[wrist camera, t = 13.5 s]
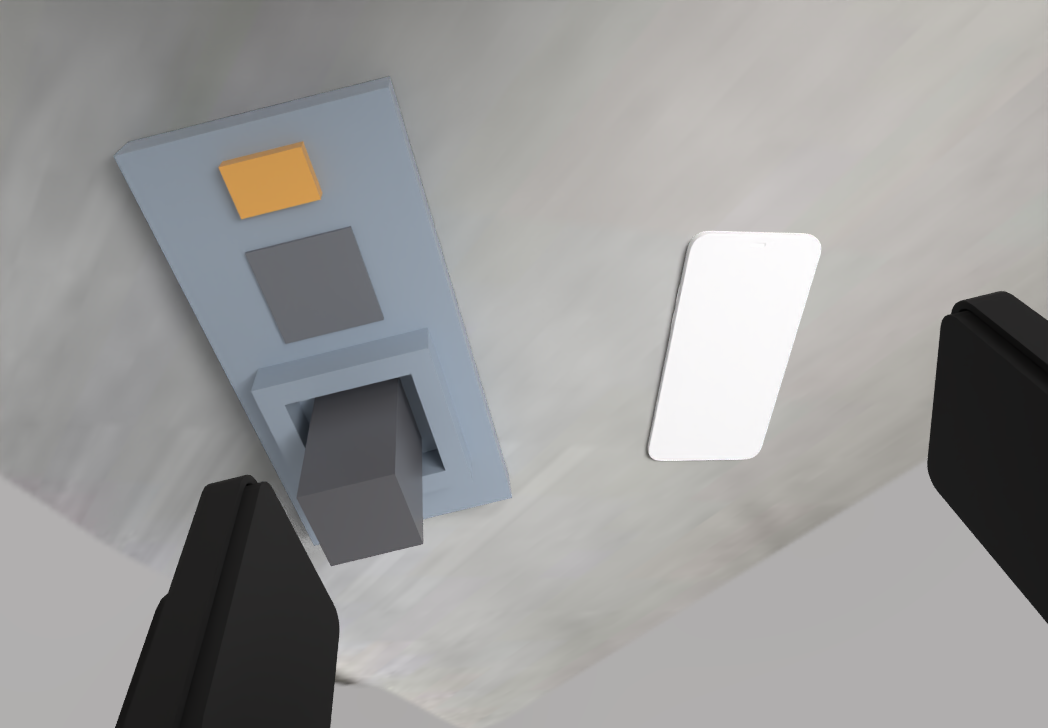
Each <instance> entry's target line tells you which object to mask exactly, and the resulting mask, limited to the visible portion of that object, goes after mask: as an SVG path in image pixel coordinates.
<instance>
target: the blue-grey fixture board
mask: <svg viewBox="0 0 1048 728" xmlns="http://www.w3.org/2000/svg"><path fill="white" fill-rule="evenodd" d="M114 158H115V160H116V162H117V164H118V166H119V168H120V170H121V172H122V174H123V176H124V178H125V180H126V182H127V183H128V185H129V187H130V189H131V191H132V193H133V195H134V197H135V199H136V201H137V203H138V205H139V207H140V209H141V211H142V213H143V214H144V216H145V218H146V220H147V222H148V224H149V226H150V228H151V230H152V232H153V234H154V236H155V238H156V240H157V242H158V244H159V245H160V247H161V249H162V251H163V253H164V255H165V257H166V259H167V261H168V263H169V265H170V267H171V269H172V271H173V273H174V275H175V276H176V278H177V280H178V282H179V284H180V286H181V288H182V290H183V292H184V294H185V296H186V298H187V300H188V302H189V304H190V306H191V307H192V309H193V311H194V313H195V315H196V317H197V319H198V321H199V323H200V325H201V327H202V329H203V331H204V333H205V335H206V337H207V339H208V340H209V342H210V344H211V346H212V348H213V350H214V352H215V354H216V356H217V358H218V360H219V362H220V364H221V366H222V368H223V370H224V371H225V373H226V375H227V377H228V379H229V381H230V383H231V385H232V387H233V389H234V391H235V393H236V395H237V397H238V399H239V401H240V402H241V404H242V406H243V408H244V410H245V412H246V414H247V416H248V418H249V420H250V422H251V424H252V426H253V428H254V430H255V432H256V433H257V435H258V437H259V439H260V441H261V443H262V445H263V447H264V449H265V451H266V453H267V455H268V457H269V459H270V461H271V463H272V465H273V466H274V468H275V470H276V472H277V474H278V476H279V478H280V480H281V482H282V484H283V486H284V488H285V490H286V492H287V494H288V496H289V497H290V499H291V501H292V503H293V505H294V507H295V509H296V511H297V513H298V515H299V517H300V519H301V521H302V523H303V525H304V527H305V528H306V530H307V532H308V534H309V536H310V538H311V540H312V542H313V544H314V546H315V545H319V544H320V543H319V542H318V540H317V538H316V536H315V534H314V532H313V530H312V528H311V526H310V524H309V522H308V520H307V518H306V516H305V514H304V512H303V510H302V508H301V506H300V504H299V502H298V500H297V498H296V497H297V491H298V486H299V481H300V475H301V470H302V464H303V459H304V454H305V448H306V443H307V438H308V432H309V427H310V421H311V416H312V411H313V405H314V400H315V397H320V396H324V395H328V394H332V393H336V392H340V391H344V390H348V389H352V388H356V387H360V386H364V385H368V384H373V383H377V382H381V381H385V380H389V379H393V378H397V377H400V380H401V382H402V385H403V388H404V391H405V393H406V396H407V399H408V401H409V404H410V407H411V410H412V412H413V415H414V418H415V421H416V423H417V426H418V429H419V432H420V434H421V437H422V491H423V519H426V518H430V517H434V516H439V515H443V514H447V513H451V512H455V511H459V510H463V509H468V508H472V507H476V506H480V505H484V504H488V503H492V502H496V501H501V500H505V499H509V498H512V494H511V487H510V481H509V475H508V472H507V468H506V465H505V461H504V458H503V455H502V451H501V448H500V445H499V441H498V438H497V435H496V431H495V428H494V424H493V421H492V418H491V414H490V411H489V408H488V404H487V401H486V398H485V394H484V391H483V387H482V384H481V381H480V377H479V374H478V371H477V367H476V364H475V361H474V357H473V354H472V351H471V347H470V344H469V340H468V337H467V334H466V330H465V327H464V324H463V320H462V317H461V314H460V310H459V307H458V303H457V300H456V297H455V293H454V290H453V287H452V283H451V280H450V277H449V273H448V270H447V266H446V263H445V260H444V256H443V253H442V250H441V246H440V243H439V240H438V236H437V233H436V230H435V226H434V223H433V219H432V216H431V213H430V209H429V206H428V203H427V199H426V196H425V193H424V189H423V186H422V182H421V179H420V176H419V172H418V169H417V166H416V162H415V159H414V156H413V152H412V149H411V146H410V142H409V139H408V135H407V132H406V129H405V125H404V122H403V119H402V115H401V112H400V109H399V105H398V102H397V98H396V95H395V92H394V88H393V85H392V82H391V78H390V76H389V77H385V78H381V79H377V80H373V81H369V82H365V83H361V84H357V85H353V86H349V87H345V88H341V89H337V90H333V91H329V92H325V93H321V94H317V95H313V96H309V97H305V98H301V99H297V100H293V101H289V102H285V103H281V104H277V105H273V106H269V107H265V108H261V109H257V110H253V111H250V112H246V113H242V114H238V115H234V116H230V117H226V118H222V119H218V120H214V121H210V122H206V123H202V124H198V125H194V126H190V127H186V128H182V129H178V130H174V131H170V132H166V133H162V134H158V135H154V136H150V137H146V138H142V139H138V140H134V141H130V142H127V143H126V144H125V145H124V146H123V147H122V148H121V149H120V150H119V151H118V152H117V153H116V154H115V155H114Z"/></svg>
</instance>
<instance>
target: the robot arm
mask: <svg viewBox="0 0 1048 728" xmlns="http://www.w3.org/2000/svg"><path fill="white" fill-rule="evenodd" d="M927 467H928V472H929V476H930V479H931V481H932V483H933V485H934V487H935V488H936V490H937V491H938V492H939V494H940V495H941V496H942V497H943V498H944V499H945V501H946V502H947V503H948V504H949V506H950V507H951V508H952V509H953V510H954V511H955V513H956V514H957V515H958V516H959V517H960V519H961V520H962V521H963V522H964V524H965V525H966V526H967V527H968V528H969V530H970V531H971V532H972V533H973V534H974V536H975V537H976V538H977V539H978V540H979V542H980V543H981V544H982V545H983V546H984V548H985V549H986V550H987V551H988V552H989V554H990V555H991V556H992V557H993V558H994V560H995V561H996V562H997V563H998V564H999V566H1000V567H1001V568H1002V569H1003V570H1004V572H1005V573H1006V574H1007V575H1008V576H1009V578H1010V579H1011V580H1012V581H1013V583H1014V584H1015V585H1016V586H1017V587H1018V588H1019V590H1020V591H1021V592H1022V593H1023V595H1024V596H1025V597H1026V598H1027V599H1028V600H1029V602H1030V603H1031V604H1032V605H1033V606H1034V608H1035V609H1036V610H1037V611H1038V613H1039V614H1040V615H1041V616H1042V617H1043V619H1044V620H1045V621H1046V622H1047V623H1048V320H1046V319H1045V318H1044V317H1042V316H1041V315H1039V314H1038V313H1037V312H1035V311H1034V310H1032V309H1031V308H1030V307H1028V306H1027V305H1026V304H1024V303H1023V302H1021V301H1020V300H1019V299H1017V298H1016V297H1014V296H1013V295H1012V294H1010V293H1007V292H1004V291H999V292H995V293H991V294H987V295H982V296H978V297H974V298H970V299H966V300H962V301H959V302H958V303H956V304H955V305H954V307H953V309H952V312H951V314H950V315H947V316H945V317H944V318H943V320H942V323H941V328H940V339H939V349H938V359H937V369H936V380H935V390H934V400H933V410H932V420H931V431H930V441H929V451H928V461H927ZM338 642H339V620H338V615H337V611H336V608H335V606H334V604H333V602H332V600H331V598H330V596H329V595H328V593H327V591H326V589H325V587H324V585H323V583H322V581H321V579H320V577H319V576H318V574H317V572H316V570H315V568H314V566H313V564H312V562H311V560H310V559H309V557H308V555H307V553H306V551H305V549H304V547H303V545H302V543H301V541H300V540H299V538H298V536H297V534H296V532H295V530H294V528H293V526H292V524H291V523H290V521H289V519H288V517H287V515H286V513H285V511H284V509H283V507H282V505H281V504H280V502H279V500H278V498H277V496H276V494H275V492H274V490H273V489H272V487H271V485H270V484H269V483H267V482H260V483H257V481H256V480H255V479H254V478H253V477H252V476H251V475H244V476H240V477H236V478H232V479H228V480H224V481H220V482H216V483H211V484H208V485H207V486H205V488H204V490H203V492H202V494H201V497H200V500H199V503H198V506H197V509H196V512H195V515H194V518H193V521H192V524H191V527H190V530H189V533H188V536H187V539H186V542H185V545H184V548H183V551H182V554H181V556H180V559H179V562H178V565H177V568H176V571H175V574H174V577H173V580H172V583H171V587H170V589H169V592H168V594H167V595H166V596H164V597H163V598H162V599H161V601H160V603H159V605H158V607H157V609H156V611H155V614H154V617H153V620H152V622H151V625H150V628H149V631H148V634H147V637H146V640H145V643H144V646H143V648H142V651H141V654H140V657H139V660H138V663H137V666H136V669H135V672H134V675H133V677H132V681H131V683H130V686H129V689H128V692H127V695H126V698H125V700H124V703H123V707H122V709H121V712H120V715H119V718H118V721H117V724H116V726H115V728H330V724H331V714H332V703H333V692H334V683H335V673H336V662H337V652H338Z"/></svg>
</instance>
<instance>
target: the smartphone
mask: <svg viewBox="0 0 1048 728" xmlns="http://www.w3.org/2000/svg"><path fill="white" fill-rule="evenodd" d="M820 254H821V244H820V242H819V241H818V240H817V239H816V238H815V237H814V236H813V235H810V234H805V233H771V232H733V231H704V232H700V233H698V234H696V235H695V236H694V237H693V238H692V239H691V241H690V243H689V245H688V248H687V252H686V257H685V262H684V267H683V272H682V277H681V282H680V285H679V289H678V294H677V299H676V304H675V305H676V307H675V310H674V313H673V318H672V323H671V328H670V329H671V332H670V337H669V342H668V347H667V352H666V357H665V362H664V367H663V372H662V377H661V382H660V387H659V392H658V397H657V402H656V406H655V411H654V414H655V415H654V416H653V419H654V420H653V421H652V427H651V432H650V437H649V442H648V453H649V455H650V457H651V458H652V459H654V460H658V461H684V460H741V459H749V458H752V457H754V456H756V455H757V454H758V453H759V451H760V450H761V447H762V445H763V441H764V438H765V435H766V431H767V428H768V425H769V422H770V418H771V415H772V412H773V408H774V405H775V402H776V399H777V395H778V392H779V389H780V386H781V382H782V379H783V376H784V372H785V369H786V366H787V363H788V359H789V356H790V353H791V349H792V346H793V343H794V340H795V336H796V333H797V330H798V327H799V323H800V320H801V317H802V313H803V310H804V307H805V304H806V300H807V297H808V294H809V290H810V287H811V284H812V281H813V277H814V274H815V271H816V268H817V264H818V261H819V258H820Z"/></svg>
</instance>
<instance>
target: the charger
mask: <svg viewBox="0 0 1048 728" xmlns="http://www.w3.org/2000/svg"><path fill="white" fill-rule="evenodd" d="M296 498H297V500H298V502H299V504H300V506H301V508H302V510H303V512H304V514H305V516H306V518H307V520H308V522H309V524H310V526H311V528H312V530H313V532H314V534H315V536H316V538H317V540H318V542H319V543H320V545H321V547H322V549H323V551H324V553H325V555H326V557H327V559H328V561H329V563H330V565H331V566H334V565H338V564H342V563H346V562H350V561H355V560H359V559H363V558H367V557H371V556H375V555H379V554H384V553H388V552H392V551H396V550H400V549H404V548H409V547H413V546H417V545H421V544H423V491H422V437H421V434H420V432H419V429H418V426H417V423H416V421H415V418H414V415H413V412H412V410H411V407H410V404H409V401H408V399H407V396H406V393H405V391H404V388H403V385H402V382H401V380H400V377H397V378H393V379H389V380H385V381H381V382H377V383H373V384H368V385H364V386H360V387H356V388H352V389H348V390H344V391H340V392H336V393H332V394H328V395H324V396H320V397H315V400H314V405H313V411H312V416H311V421H310V427H309V432H308V438H307V443H306V448H305V454H304V459H303V464H302V470H301V475H300V481H299V486H298V491H297V497H296Z"/></svg>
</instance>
